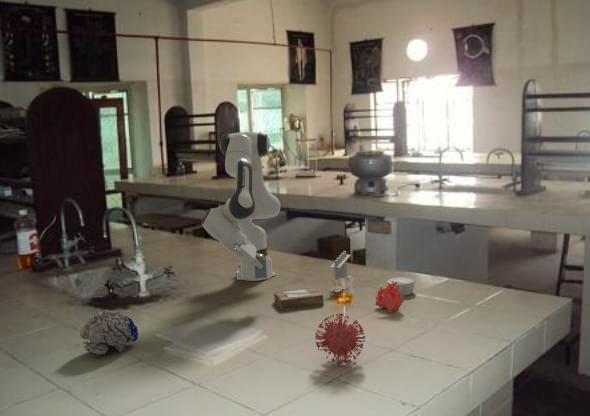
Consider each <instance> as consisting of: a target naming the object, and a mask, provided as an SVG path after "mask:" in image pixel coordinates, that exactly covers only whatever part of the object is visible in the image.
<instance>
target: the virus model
mask: <svg viewBox="0 0 590 416" xmlns="http://www.w3.org/2000/svg"><path fill="white" fill-rule="evenodd" d="M344 315H345V314H344V313H336V314H331V315H329V316H328V317H325V318H324V319H323V320H322V321H321V323H319V324H318V328H320V329H323V330H324V331H325V332H324V331H321V330H319V329H316V332H315V338H314V339H315V340H319V341H315V345H316V347H317V351H321V352H323V351H324V352H325V353H328V355H327V356H326V357H325V359H328V357H329V355H331V354H333V356H332V359H330V360H331V361H332V362H333V363H335V360H337V362H336V365H342V364H343V363H344V364H348V363H350V362H351V359H350V358H352V357H353V360H357V357H359V356H360V354H361V352H362V349H364V347H363V346H364V342H366V335H365V331H364V329H363V327H362V325H361V324H360V323H359V321H358V320H357V319H356V320H353V322H352V324H351V323H349V325H348V324H347V323H348V320H349V318H350V316H348V314H347V315H345V316H344ZM334 316H336V318H335V317H334ZM332 318H333V320H330V319H332ZM343 318H344V320H343ZM324 325H325V326H324ZM361 335H362V336H361ZM360 336H361V337H360ZM359 348H360V349H359ZM353 352H354V353H355V354H353ZM356 356H357V357H356Z"/></svg>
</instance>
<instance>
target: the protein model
mask: <svg viewBox="0 0 590 416" xmlns="http://www.w3.org/2000/svg"><path fill="white" fill-rule="evenodd" d="M397 283H398V282H395V283H394V282H392V284H389V285H388V284H387V285H386V286H385V287H382V286H381V287H379V290H378V291H377V294H376V296H375V306H378V307H379V308H381V309H387V312H388V313H390V314H391V313H392V312H393V311H399V309H400V308H401V306H402V304H404V301H405V299H404V296H402V295H400V293H398V292H399V288H400V287H399V285H397V288H396V287H395V285H396V284H397ZM389 288H390V289H389Z"/></svg>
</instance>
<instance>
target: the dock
mask: <svg viewBox="0 0 590 416" xmlns="http://www.w3.org/2000/svg"><path fill="white" fill-rule="evenodd" d="M273 293H274V294H273V296H274V303H275V304H276V306H277V307H278V308H279V309H280V310H282V311H288V310H295V309H302V308H309V307H317V306H324V304H325V303H324V294H322V293H321V292H320V291H319V290H317V288H315V287H310V288H309V287H308V288H301V289H293V290H283V291H277V292H276V291H275V292H273Z"/></svg>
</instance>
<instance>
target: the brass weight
mask: <svg viewBox="0 0 590 416" xmlns="http://www.w3.org/2000/svg"><path fill="white" fill-rule="evenodd" d="M256 256H257V259H264V255H263V254H258V255H256Z"/></svg>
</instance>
